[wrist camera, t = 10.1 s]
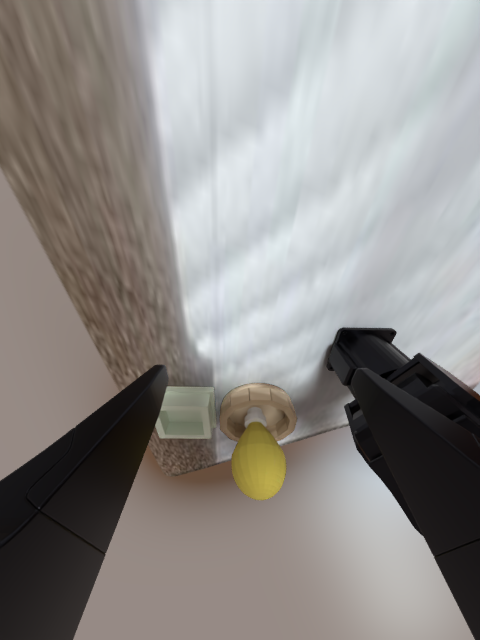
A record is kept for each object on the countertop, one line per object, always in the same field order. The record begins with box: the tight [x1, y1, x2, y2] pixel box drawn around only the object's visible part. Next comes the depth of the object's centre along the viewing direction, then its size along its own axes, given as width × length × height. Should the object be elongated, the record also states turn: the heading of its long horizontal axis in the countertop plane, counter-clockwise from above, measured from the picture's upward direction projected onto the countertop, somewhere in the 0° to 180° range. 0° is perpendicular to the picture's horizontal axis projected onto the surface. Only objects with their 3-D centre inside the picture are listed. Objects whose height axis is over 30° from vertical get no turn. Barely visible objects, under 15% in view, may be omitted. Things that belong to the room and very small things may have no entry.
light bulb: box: [232, 407, 286, 500], centre depth 24 cm, size 7×7×10 cm
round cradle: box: [220, 383, 297, 442], centre depth 28 cm, size 11×11×3 cm
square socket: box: [155, 386, 217, 439], centre depth 28 cm, size 9×9×3 cm
